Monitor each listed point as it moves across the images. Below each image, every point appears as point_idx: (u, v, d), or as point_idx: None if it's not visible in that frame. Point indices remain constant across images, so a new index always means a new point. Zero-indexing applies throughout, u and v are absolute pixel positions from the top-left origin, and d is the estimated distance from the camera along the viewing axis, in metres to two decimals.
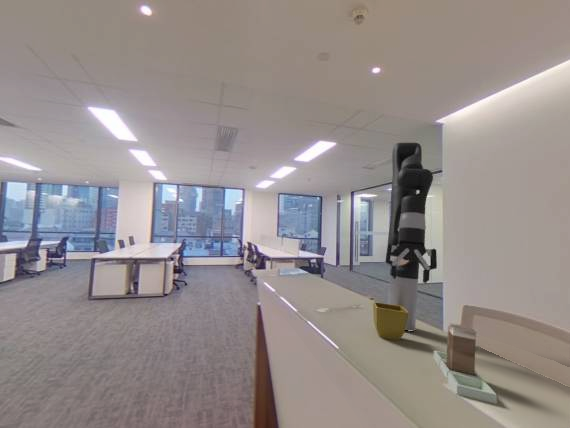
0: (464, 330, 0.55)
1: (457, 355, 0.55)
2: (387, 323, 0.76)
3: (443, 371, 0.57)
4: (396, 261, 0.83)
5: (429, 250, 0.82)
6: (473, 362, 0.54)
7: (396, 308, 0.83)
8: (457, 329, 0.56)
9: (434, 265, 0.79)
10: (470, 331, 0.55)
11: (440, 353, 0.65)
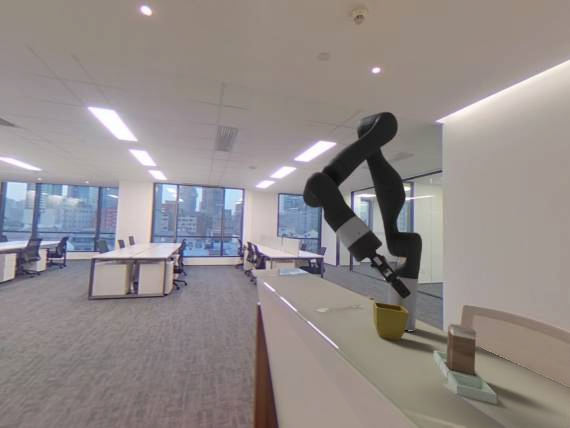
0: (464, 330, 0.55)
1: (457, 355, 0.55)
2: (387, 323, 0.76)
3: (443, 371, 0.57)
4: None
5: None
6: (473, 362, 0.54)
7: (396, 308, 0.83)
8: (457, 329, 0.56)
9: None
10: (470, 331, 0.55)
11: (440, 353, 0.65)
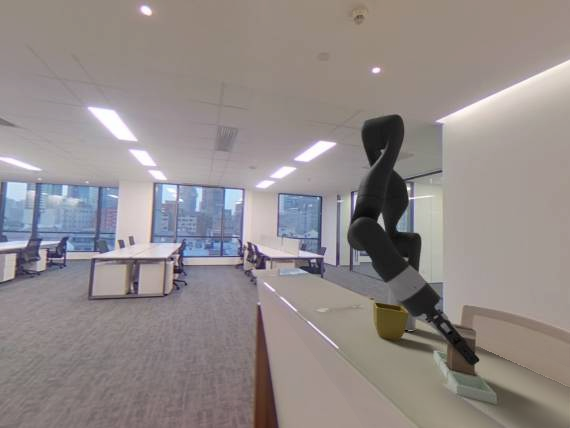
0: (464, 330, 0.55)
1: (457, 355, 0.55)
2: (387, 323, 0.76)
3: (443, 371, 0.57)
4: None
5: (439, 323, 0.54)
6: None
7: (396, 308, 0.83)
8: (457, 329, 0.56)
9: (452, 346, 0.53)
10: (470, 331, 0.55)
11: (440, 353, 0.65)
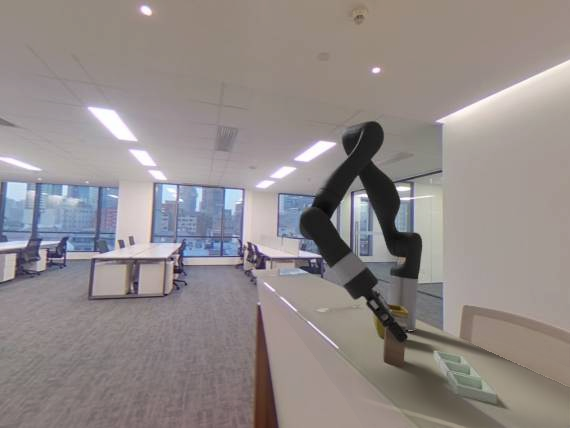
0: (396, 318, 0.59)
1: (389, 341, 0.59)
2: None
3: (443, 371, 0.57)
4: None
5: None
6: (403, 347, 0.58)
7: (396, 308, 0.83)
8: None
9: (382, 324, 0.56)
10: (401, 319, 0.59)
11: (440, 353, 0.65)
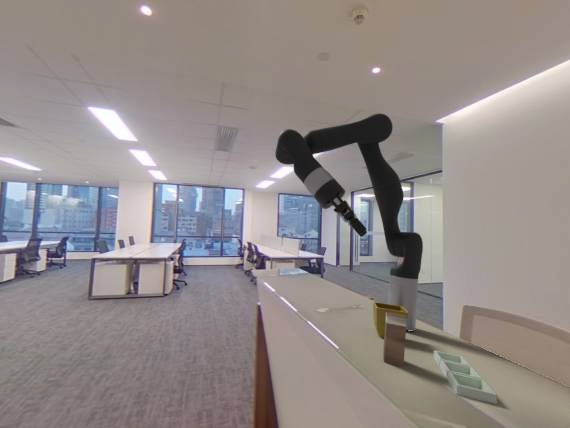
0: (396, 318, 0.59)
1: (389, 341, 0.59)
2: None
3: (443, 371, 0.57)
4: (347, 222, 0.74)
5: None
6: (403, 347, 0.58)
7: (396, 308, 0.83)
8: (390, 317, 0.60)
9: (343, 217, 0.64)
10: (401, 319, 0.59)
11: (440, 353, 0.65)
